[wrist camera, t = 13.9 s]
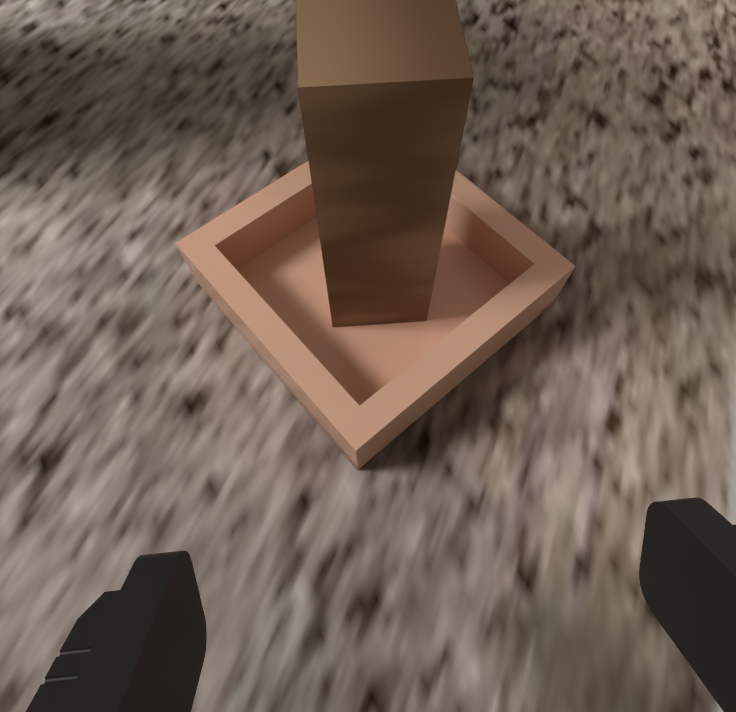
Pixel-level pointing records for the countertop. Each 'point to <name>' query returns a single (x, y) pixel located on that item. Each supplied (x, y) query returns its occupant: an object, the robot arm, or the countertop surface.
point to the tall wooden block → (381, 146)
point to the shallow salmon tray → (371, 342)
